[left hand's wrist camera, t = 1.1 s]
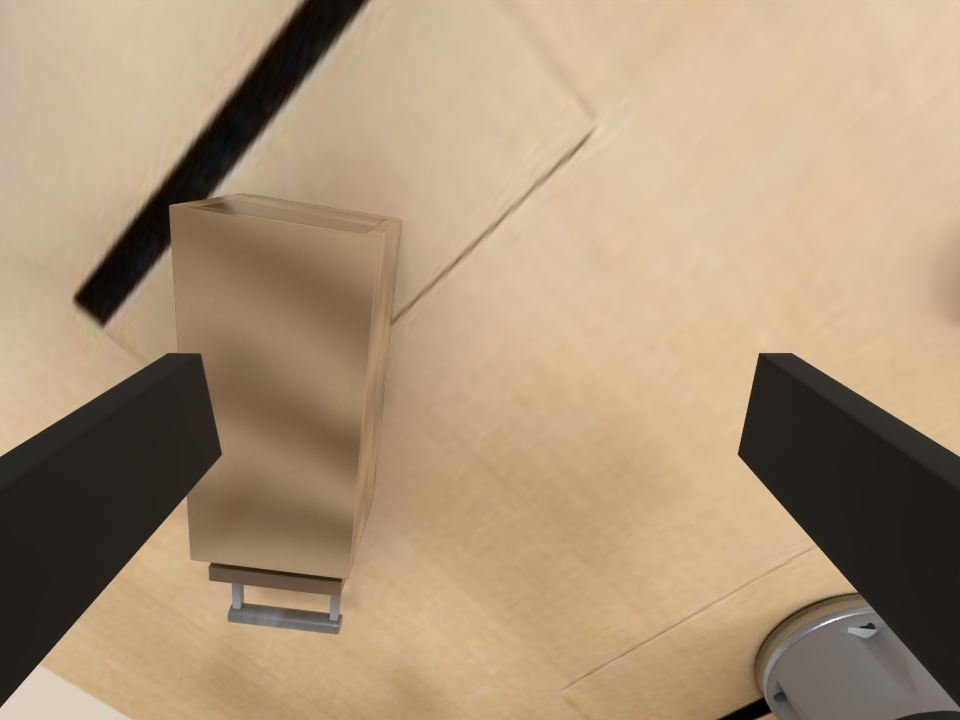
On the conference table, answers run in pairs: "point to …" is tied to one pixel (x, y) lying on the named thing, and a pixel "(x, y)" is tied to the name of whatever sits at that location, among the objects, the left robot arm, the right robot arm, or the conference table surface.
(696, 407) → the conference table surface
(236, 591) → the drawer
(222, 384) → the cabinet
